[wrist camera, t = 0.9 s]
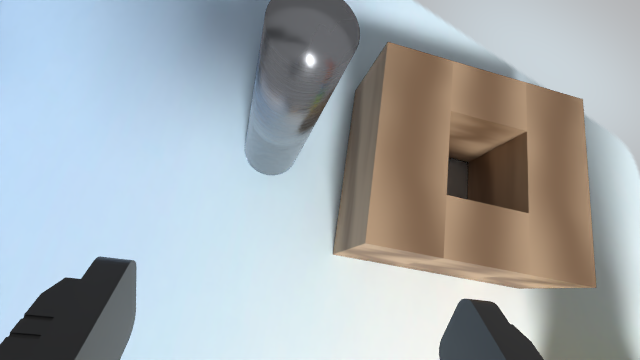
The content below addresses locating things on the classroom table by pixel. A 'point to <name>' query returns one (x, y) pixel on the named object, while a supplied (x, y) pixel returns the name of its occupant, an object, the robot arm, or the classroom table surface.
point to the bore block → (483, 175)
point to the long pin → (296, 76)
